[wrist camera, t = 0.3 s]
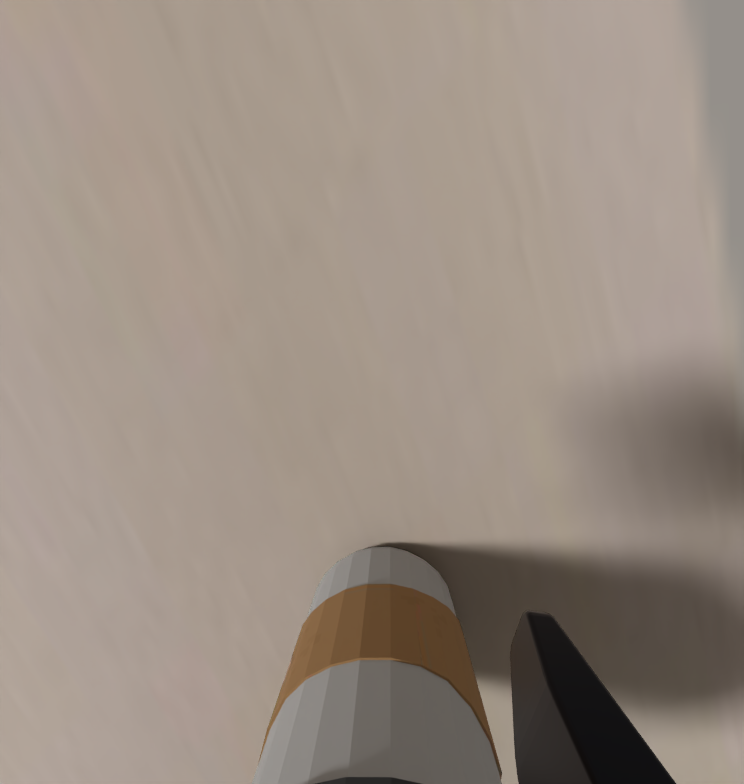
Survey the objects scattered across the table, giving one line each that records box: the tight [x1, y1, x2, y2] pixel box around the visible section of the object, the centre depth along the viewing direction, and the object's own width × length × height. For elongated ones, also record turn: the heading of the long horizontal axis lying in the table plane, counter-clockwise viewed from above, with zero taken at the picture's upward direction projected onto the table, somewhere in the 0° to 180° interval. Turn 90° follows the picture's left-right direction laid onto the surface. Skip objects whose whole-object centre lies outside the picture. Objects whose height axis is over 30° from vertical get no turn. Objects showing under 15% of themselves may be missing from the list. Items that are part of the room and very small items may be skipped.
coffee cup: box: [252, 547, 502, 784], centre depth 20 cm, size 8×8×15 cm
